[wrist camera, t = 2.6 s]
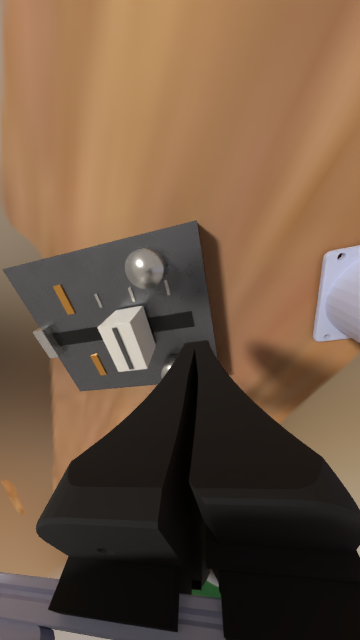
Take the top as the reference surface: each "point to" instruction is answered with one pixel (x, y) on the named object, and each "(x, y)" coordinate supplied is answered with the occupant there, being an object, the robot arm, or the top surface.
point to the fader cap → (128, 338)
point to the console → (119, 302)
